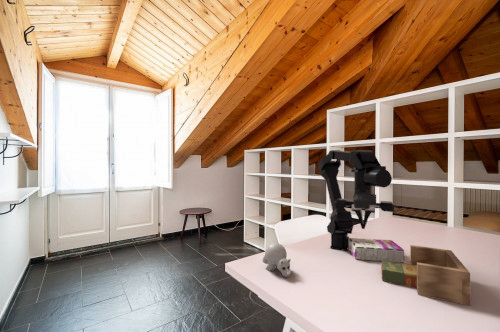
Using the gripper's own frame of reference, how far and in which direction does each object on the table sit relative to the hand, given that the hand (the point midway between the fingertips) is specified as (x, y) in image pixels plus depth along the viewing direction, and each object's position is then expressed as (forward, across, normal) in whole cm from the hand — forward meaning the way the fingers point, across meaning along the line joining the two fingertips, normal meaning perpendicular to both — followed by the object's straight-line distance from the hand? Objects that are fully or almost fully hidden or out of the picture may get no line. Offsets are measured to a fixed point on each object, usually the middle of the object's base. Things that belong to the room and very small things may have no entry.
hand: (363, 228), depth 84 cm
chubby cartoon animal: (+12, -24, -22) cm, 35 cm away
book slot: (+12, +19, -8) cm, 23 cm away
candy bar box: (+10, +11, +11) cm, 18 cm away
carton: (+12, +14, -9) cm, 21 cm away
